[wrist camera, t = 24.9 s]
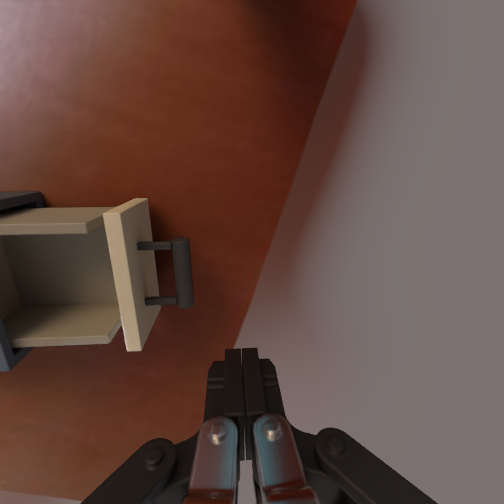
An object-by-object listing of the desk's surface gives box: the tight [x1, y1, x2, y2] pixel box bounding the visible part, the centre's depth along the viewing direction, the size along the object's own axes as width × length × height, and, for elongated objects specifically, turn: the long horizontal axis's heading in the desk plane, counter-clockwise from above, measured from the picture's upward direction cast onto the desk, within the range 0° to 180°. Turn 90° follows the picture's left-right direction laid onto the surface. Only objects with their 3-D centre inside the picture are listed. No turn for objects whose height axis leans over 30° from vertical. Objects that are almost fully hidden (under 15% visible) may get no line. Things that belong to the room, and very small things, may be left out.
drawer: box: [0, 198, 194, 351], centre depth 24 cm, size 18×11×7 cm, turn 90°
